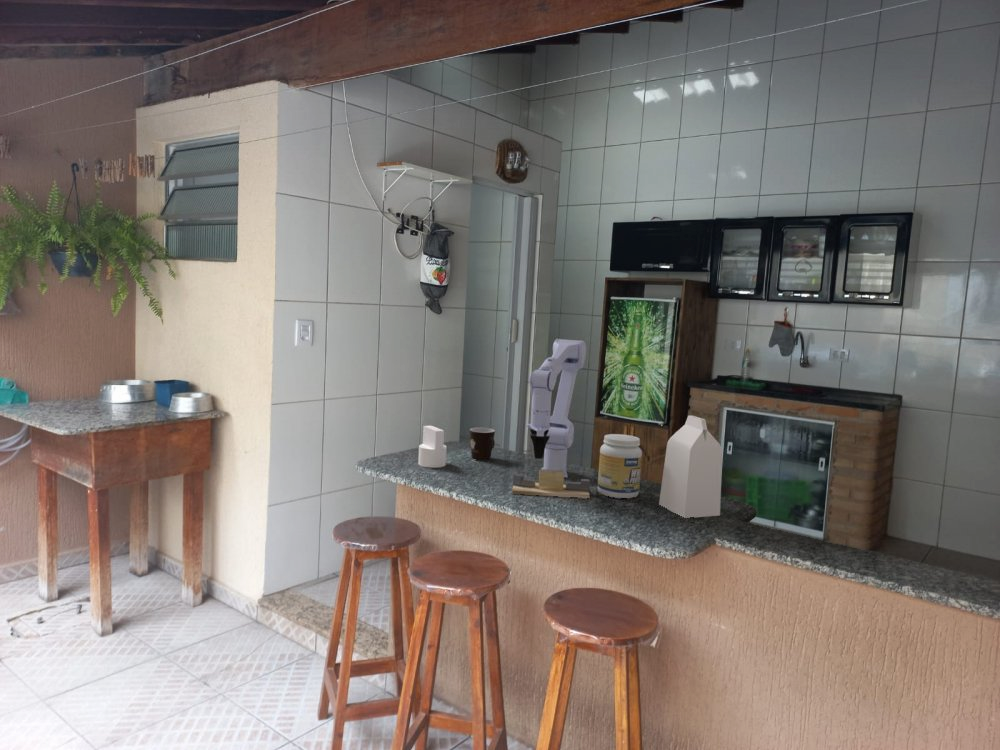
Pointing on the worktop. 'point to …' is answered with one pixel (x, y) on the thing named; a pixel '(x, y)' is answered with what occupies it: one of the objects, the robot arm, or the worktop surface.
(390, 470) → the worktop surface
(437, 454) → the base with upright slab
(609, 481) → the supplement tub
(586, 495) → the wooden board
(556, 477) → the gold rectangular block
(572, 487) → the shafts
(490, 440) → the coffee mug
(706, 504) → the milk
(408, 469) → the worktop surface
